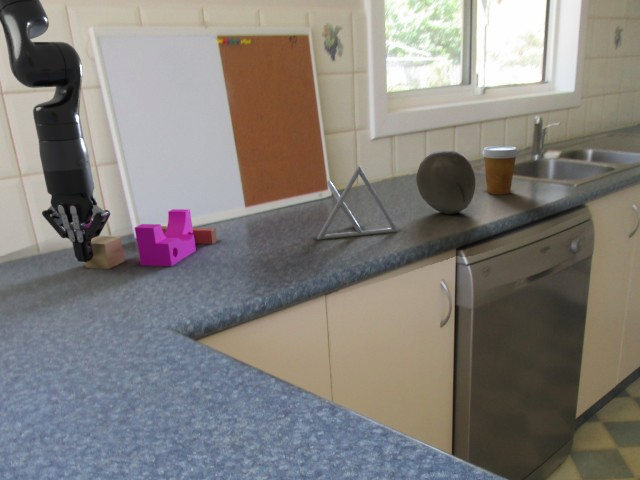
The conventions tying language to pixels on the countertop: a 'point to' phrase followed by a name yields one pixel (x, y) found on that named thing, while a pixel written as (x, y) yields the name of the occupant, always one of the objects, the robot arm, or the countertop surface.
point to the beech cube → (106, 252)
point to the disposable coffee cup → (499, 168)
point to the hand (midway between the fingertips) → (85, 260)
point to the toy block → (166, 240)
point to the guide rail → (201, 235)
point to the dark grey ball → (446, 181)
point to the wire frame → (349, 214)
